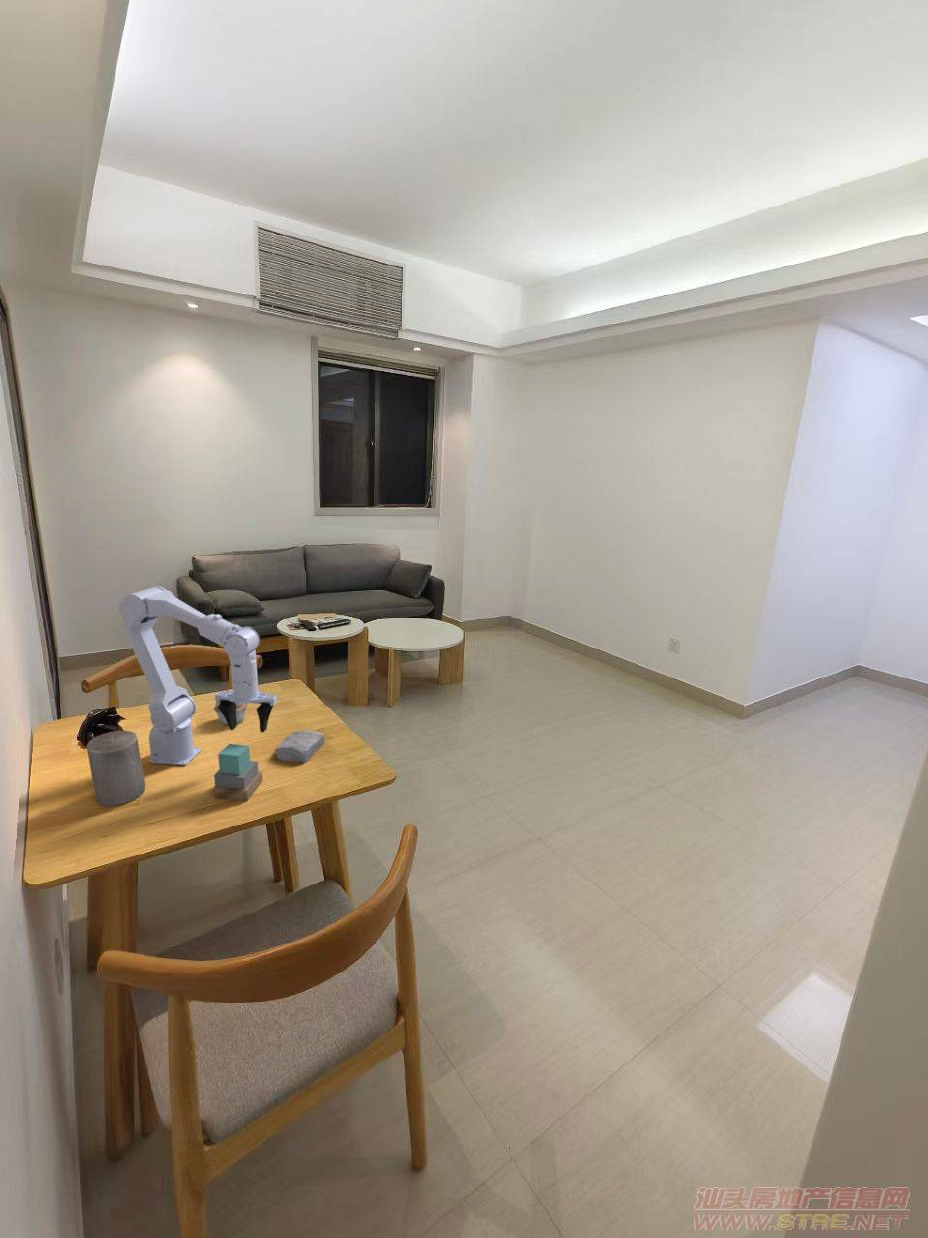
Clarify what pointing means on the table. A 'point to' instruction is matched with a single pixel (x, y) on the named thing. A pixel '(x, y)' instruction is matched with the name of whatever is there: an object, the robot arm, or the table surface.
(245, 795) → the walnut slab
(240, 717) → the cupcake
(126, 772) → the pillar candle
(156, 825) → the table surface
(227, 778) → the grey block
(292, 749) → the stone block
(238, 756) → the teal cube
